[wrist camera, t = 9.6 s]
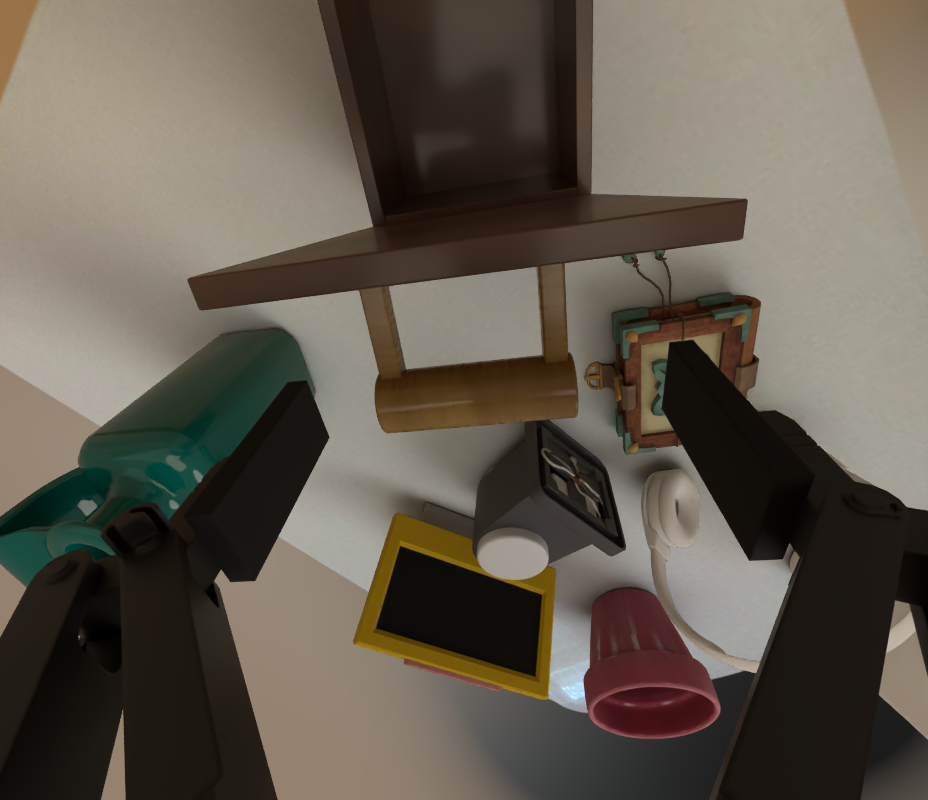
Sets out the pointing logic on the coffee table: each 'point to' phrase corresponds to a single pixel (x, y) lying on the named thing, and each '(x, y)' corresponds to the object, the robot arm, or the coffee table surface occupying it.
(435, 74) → the bin
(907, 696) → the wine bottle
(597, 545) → the light fixture
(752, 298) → the decorative book
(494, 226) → the bin lid
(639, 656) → the flower pot
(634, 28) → the coffee table surface
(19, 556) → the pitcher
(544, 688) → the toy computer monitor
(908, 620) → the headphones
